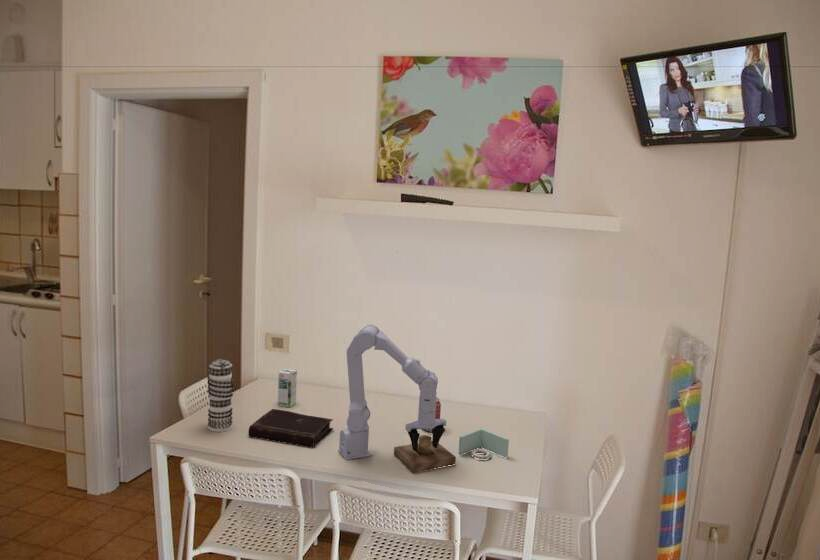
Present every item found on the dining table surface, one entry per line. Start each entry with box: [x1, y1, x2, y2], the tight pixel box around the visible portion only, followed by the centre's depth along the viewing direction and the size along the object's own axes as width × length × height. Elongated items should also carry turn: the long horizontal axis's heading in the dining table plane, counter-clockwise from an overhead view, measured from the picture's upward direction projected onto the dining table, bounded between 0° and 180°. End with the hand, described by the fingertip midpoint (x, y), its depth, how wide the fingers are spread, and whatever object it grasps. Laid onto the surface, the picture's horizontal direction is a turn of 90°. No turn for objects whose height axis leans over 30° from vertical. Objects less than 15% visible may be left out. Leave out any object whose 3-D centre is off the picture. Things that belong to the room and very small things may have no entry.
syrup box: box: [277, 368, 298, 408], centre depth 242 cm, size 6×6×14 cm
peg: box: [418, 434, 432, 457], centre depth 198 cm, size 4×4×8 cm
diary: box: [248, 408, 334, 449], centre depth 215 cm, size 19×25×5 cm
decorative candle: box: [206, 358, 234, 433], centre depth 215 cm, size 9×9×25 cm
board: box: [393, 440, 457, 474], centre depth 198 cm, size 16×14×3 cm
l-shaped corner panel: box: [458, 428, 510, 460], centre depth 203 cm, size 12×12×8 cm
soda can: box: [423, 396, 442, 432], centre depth 224 cm, size 7×7×12 cm
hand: (424, 448), depth 198 cm, fingers open, 7 cm apart
